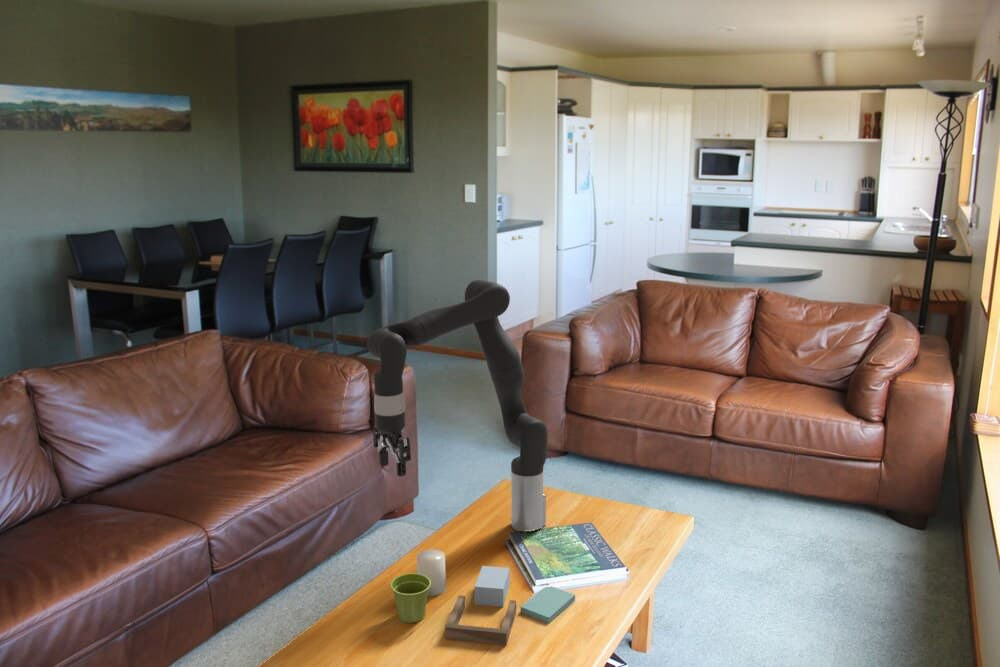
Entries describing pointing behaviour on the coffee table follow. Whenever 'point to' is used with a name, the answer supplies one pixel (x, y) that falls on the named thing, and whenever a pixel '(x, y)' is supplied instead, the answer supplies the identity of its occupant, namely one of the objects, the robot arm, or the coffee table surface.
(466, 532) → the coffee table surface
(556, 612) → the green flat block
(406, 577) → the plant pot
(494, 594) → the carton
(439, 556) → the white capsule shape
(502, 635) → the display bay
